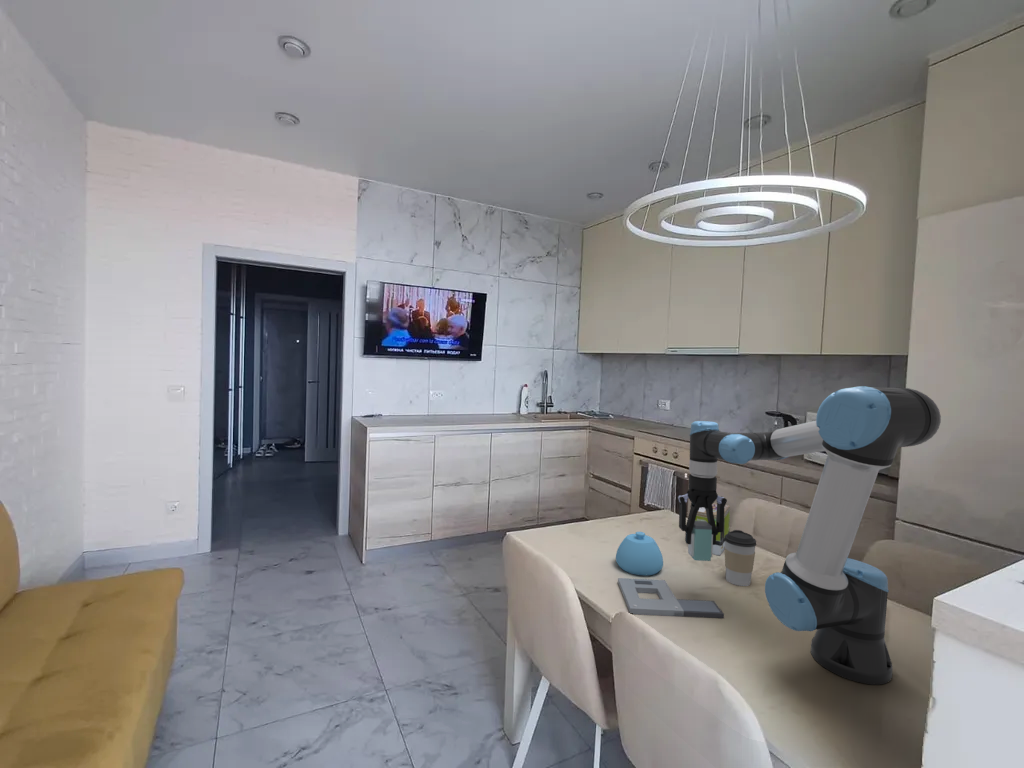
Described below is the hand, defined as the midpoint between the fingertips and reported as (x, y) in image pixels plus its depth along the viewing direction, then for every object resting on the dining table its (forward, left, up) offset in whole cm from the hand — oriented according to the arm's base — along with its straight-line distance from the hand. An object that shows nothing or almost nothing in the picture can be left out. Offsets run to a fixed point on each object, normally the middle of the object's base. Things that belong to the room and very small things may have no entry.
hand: (700, 554), depth 139 cm
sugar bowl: (+17, +13, -12) cm, 25 cm away
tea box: (+38, -18, -12) cm, 44 cm away
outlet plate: (-4, +15, -12) cm, 20 cm away
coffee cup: (+10, -16, -12) cm, 22 cm away
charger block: (0, 0, -1) cm, 1 cm away
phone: (-9, +4, -12) cm, 15 cm away
